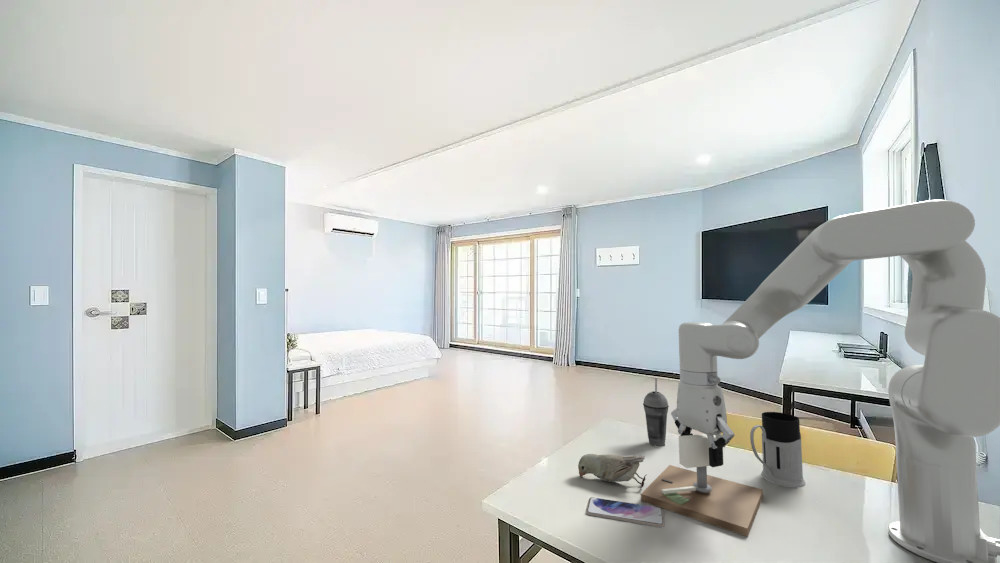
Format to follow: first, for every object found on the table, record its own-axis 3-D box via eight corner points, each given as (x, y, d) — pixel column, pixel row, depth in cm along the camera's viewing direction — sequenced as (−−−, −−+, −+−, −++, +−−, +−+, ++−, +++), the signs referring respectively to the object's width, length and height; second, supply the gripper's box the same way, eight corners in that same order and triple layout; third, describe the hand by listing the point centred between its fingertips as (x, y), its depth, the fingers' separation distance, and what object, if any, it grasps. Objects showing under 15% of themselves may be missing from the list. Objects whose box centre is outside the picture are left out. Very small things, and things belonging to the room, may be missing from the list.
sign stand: (714, 484, 89) (713, 432, 89) (726, 492, 85) (724, 437, 86) (658, 490, 86) (656, 436, 87) (667, 498, 83) (665, 442, 83)
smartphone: (589, 496, 87) (662, 507, 82) (589, 500, 87) (662, 511, 82) (585, 512, 80) (664, 525, 76) (585, 516, 80) (664, 529, 75)
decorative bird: (581, 472, 100) (580, 442, 101) (647, 484, 93) (646, 452, 94) (576, 481, 95) (575, 449, 96) (645, 494, 89) (644, 460, 89)
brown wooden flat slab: (763, 496, 87) (762, 488, 87) (747, 536, 72) (747, 527, 72) (669, 470, 100) (669, 464, 100) (641, 500, 86) (640, 492, 86)
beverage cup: (665, 439, 121) (663, 374, 122) (673, 448, 114) (671, 379, 115) (641, 439, 122) (639, 374, 123) (647, 448, 115) (645, 379, 116)
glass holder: (814, 483, 92) (811, 419, 93) (771, 494, 87) (768, 426, 88) (777, 468, 100) (775, 409, 101) (736, 477, 96) (734, 415, 96)
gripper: (746, 384, 80) (750, 472, 79) (682, 370, 97) (684, 442, 96) (718, 387, 78) (722, 478, 77) (657, 372, 94) (659, 446, 93)
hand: (701, 458), depth 86 cm, fingers open, 7 cm apart
